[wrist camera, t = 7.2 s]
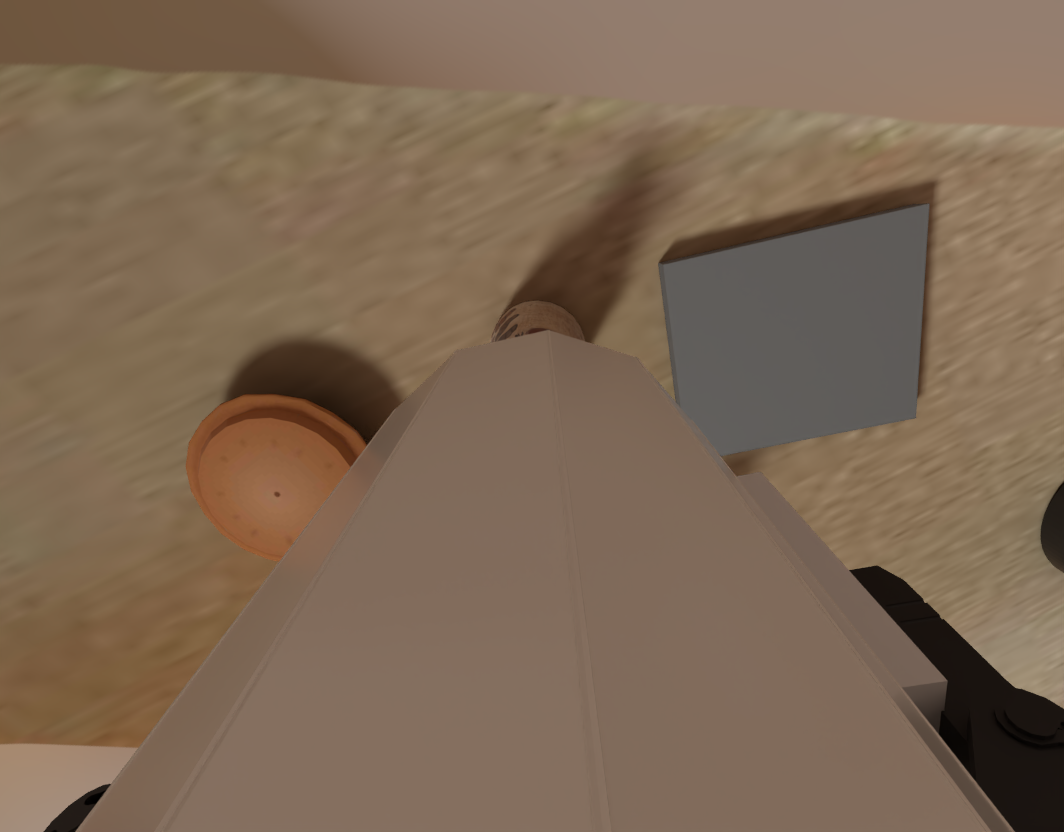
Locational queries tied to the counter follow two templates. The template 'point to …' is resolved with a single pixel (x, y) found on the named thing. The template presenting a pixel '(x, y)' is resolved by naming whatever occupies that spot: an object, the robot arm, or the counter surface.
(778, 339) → the slate board
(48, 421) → the counter surface
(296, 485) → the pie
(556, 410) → the white cylinder
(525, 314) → the figurine
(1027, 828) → the robot arm
